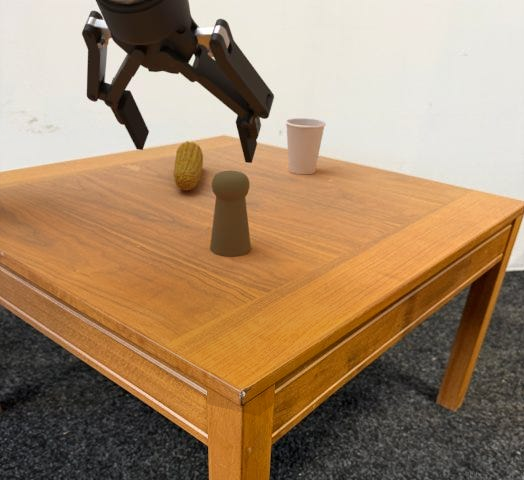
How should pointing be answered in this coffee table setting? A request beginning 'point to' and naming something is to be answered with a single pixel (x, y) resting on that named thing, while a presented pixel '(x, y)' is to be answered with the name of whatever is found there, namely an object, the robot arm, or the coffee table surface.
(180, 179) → the food
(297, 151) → the dixie cup
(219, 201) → the cork
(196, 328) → the coffee table surface
